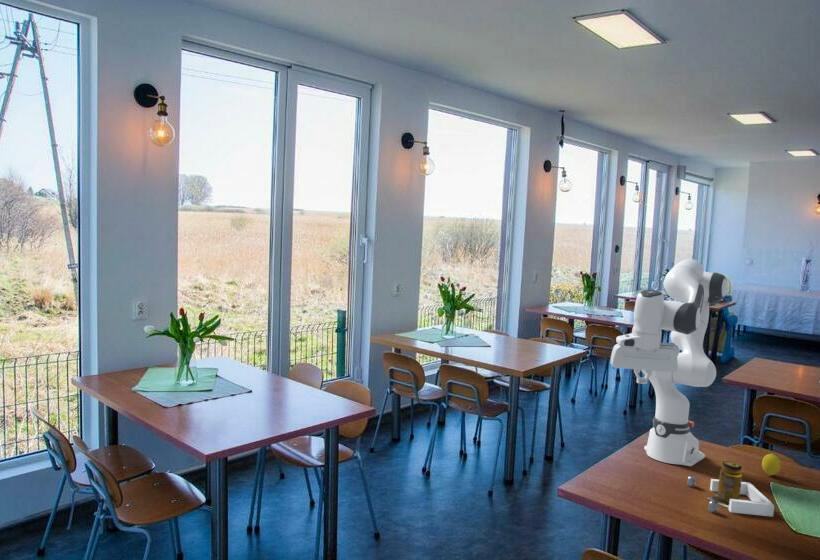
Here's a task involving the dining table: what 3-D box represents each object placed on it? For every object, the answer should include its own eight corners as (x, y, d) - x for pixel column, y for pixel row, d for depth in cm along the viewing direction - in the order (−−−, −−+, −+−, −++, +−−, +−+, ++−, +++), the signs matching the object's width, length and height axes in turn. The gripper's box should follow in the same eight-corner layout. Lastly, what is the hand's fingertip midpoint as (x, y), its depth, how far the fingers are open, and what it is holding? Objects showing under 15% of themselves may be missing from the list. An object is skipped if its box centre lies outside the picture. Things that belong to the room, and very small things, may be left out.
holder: (730, 512, 180) (731, 501, 179) (709, 489, 196) (711, 478, 195) (773, 516, 179) (774, 505, 178) (748, 493, 194) (749, 482, 194)
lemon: (774, 473, 213) (776, 451, 212) (782, 479, 207) (784, 457, 207) (757, 471, 213) (760, 449, 213) (765, 478, 208) (767, 455, 207)
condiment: (744, 503, 187) (749, 465, 186) (730, 509, 182) (734, 470, 181) (721, 493, 193) (725, 457, 192) (706, 499, 188) (711, 462, 187)
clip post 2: (710, 509, 181) (712, 499, 181) (718, 512, 179) (719, 502, 179) (706, 510, 180) (707, 501, 179) (714, 514, 178) (715, 504, 177)
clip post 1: (689, 483, 199) (690, 475, 199) (696, 486, 197) (697, 477, 197) (685, 485, 197) (686, 476, 197) (692, 488, 195) (693, 479, 195)
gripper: (676, 341, 195) (672, 383, 196) (611, 336, 197) (607, 378, 199) (683, 345, 189) (678, 388, 190) (615, 340, 191) (611, 383, 192)
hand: (641, 383), depth 194 cm, fingers closed
